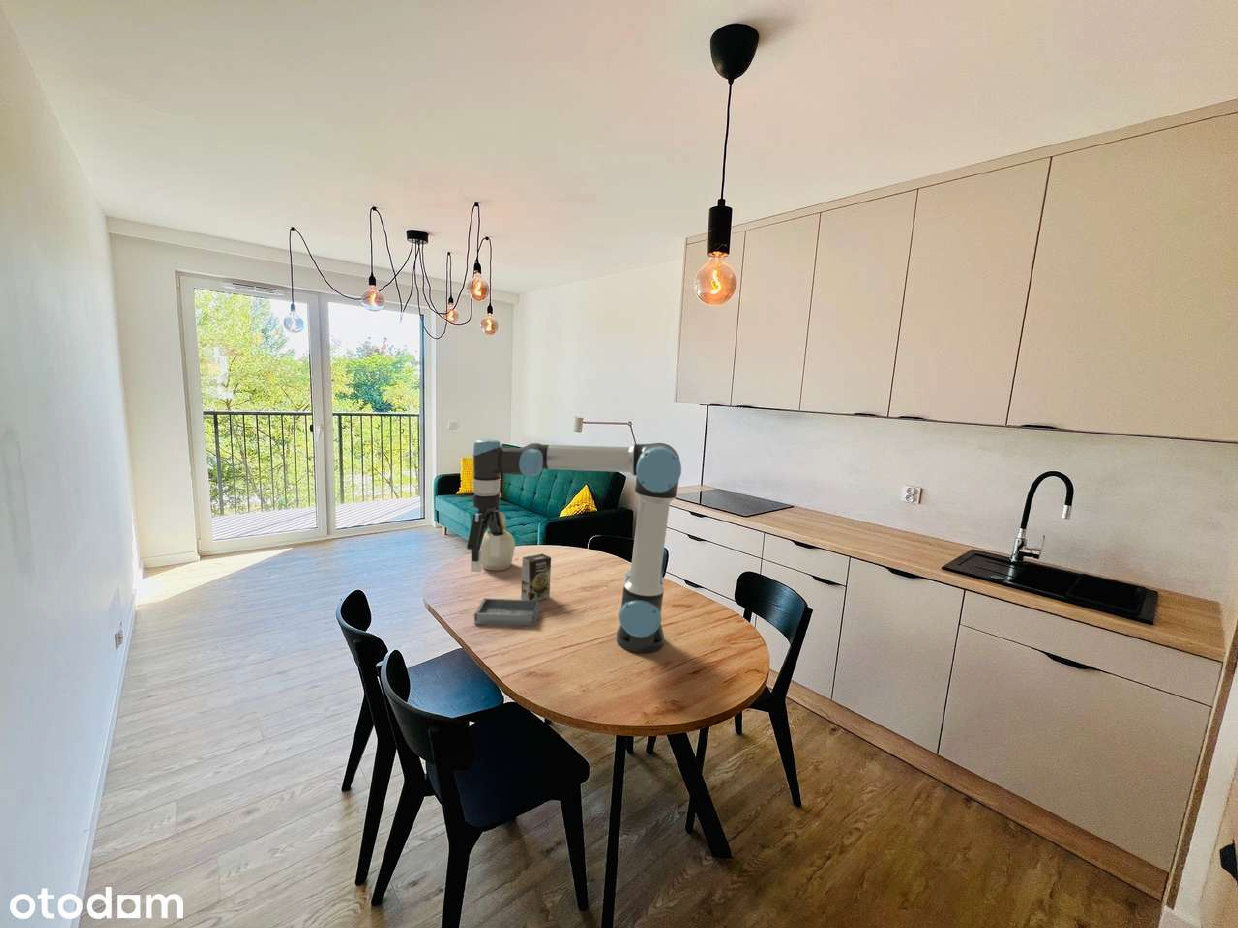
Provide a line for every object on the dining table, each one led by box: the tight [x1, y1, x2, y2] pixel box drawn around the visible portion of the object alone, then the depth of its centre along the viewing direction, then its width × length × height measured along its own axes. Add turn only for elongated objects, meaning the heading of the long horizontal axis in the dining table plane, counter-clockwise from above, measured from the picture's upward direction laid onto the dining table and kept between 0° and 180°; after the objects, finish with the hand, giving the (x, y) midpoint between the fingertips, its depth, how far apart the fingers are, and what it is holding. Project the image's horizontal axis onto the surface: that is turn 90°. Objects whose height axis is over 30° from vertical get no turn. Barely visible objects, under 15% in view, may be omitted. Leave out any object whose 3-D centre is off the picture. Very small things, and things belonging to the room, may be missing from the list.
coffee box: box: [520, 552, 552, 601], centre depth 187 cm, size 9×6×16 cm
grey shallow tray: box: [473, 597, 541, 627], centre depth 171 cm, size 20×12×4 cm, turn 91°
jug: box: [480, 510, 516, 572], centre depth 217 cm, size 15×16×25 cm
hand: (486, 563), depth 146 cm, fingers open, 13 cm apart
